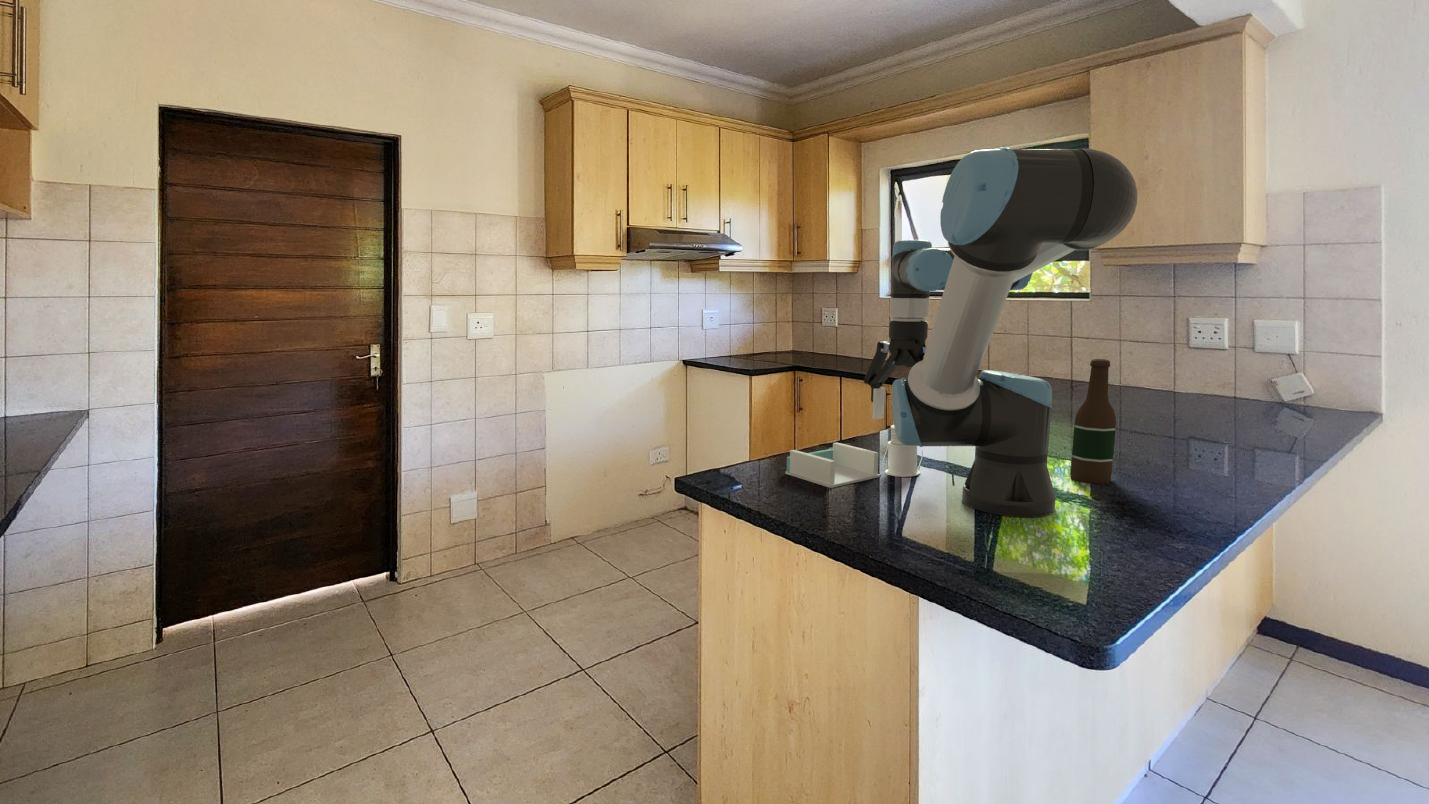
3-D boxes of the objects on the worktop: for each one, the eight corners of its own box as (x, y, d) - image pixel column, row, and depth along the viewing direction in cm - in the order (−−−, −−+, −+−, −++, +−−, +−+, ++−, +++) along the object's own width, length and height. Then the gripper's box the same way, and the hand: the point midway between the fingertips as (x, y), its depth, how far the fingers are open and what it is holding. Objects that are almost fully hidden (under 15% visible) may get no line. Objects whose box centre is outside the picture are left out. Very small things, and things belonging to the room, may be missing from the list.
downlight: (919, 469, 149) (919, 422, 147) (925, 477, 142) (925, 429, 140) (880, 469, 149) (880, 423, 148) (885, 478, 143) (884, 430, 141)
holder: (880, 476, 143) (881, 452, 142) (830, 488, 134) (831, 462, 134) (833, 464, 153) (834, 441, 152) (785, 473, 145) (785, 449, 144)
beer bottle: (1101, 474, 145) (1112, 358, 141) (1119, 485, 137) (1131, 361, 133) (1062, 473, 145) (1071, 357, 142) (1077, 483, 138) (1088, 361, 134)
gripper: (974, 322, 133) (967, 432, 137) (873, 316, 153) (869, 412, 156) (950, 323, 129) (943, 437, 132) (849, 317, 148) (845, 416, 152)
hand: (903, 424), depth 144 cm, fingers open, 13 cm apart
